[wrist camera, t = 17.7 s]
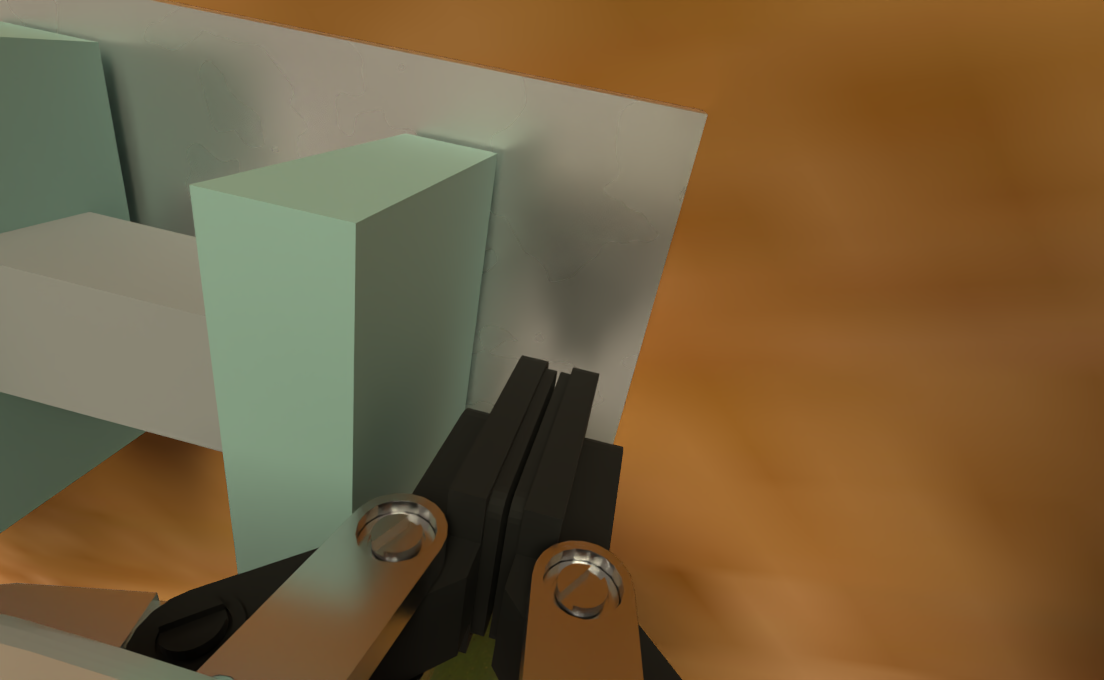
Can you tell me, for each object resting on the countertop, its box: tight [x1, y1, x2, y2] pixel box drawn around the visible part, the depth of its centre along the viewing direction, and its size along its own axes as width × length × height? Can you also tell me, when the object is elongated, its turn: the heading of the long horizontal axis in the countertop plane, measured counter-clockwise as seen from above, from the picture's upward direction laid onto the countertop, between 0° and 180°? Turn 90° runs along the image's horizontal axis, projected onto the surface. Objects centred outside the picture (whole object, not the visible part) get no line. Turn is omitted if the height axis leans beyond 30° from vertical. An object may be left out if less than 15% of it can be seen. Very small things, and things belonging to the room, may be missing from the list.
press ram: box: [0, 21, 497, 574], centre depth 11 cm, size 12×10×6 cm
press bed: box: [0, 0, 708, 444], centre depth 14 cm, size 28×12×4 cm, turn 80°
